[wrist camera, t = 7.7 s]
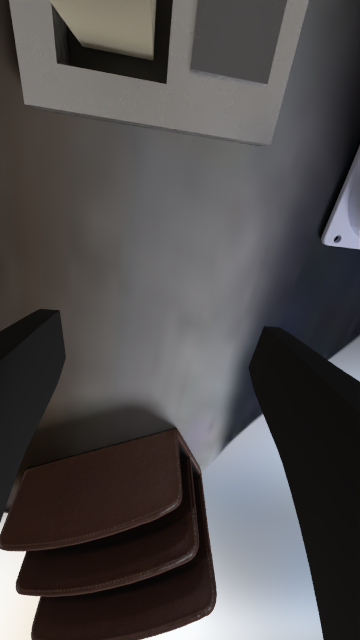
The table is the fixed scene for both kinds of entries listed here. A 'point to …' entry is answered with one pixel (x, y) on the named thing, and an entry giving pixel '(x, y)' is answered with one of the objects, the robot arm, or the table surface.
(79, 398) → the table surface
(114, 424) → the table surface
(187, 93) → the panel
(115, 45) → the plug
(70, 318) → the table surface
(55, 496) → the letter holder
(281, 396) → the robot arm
